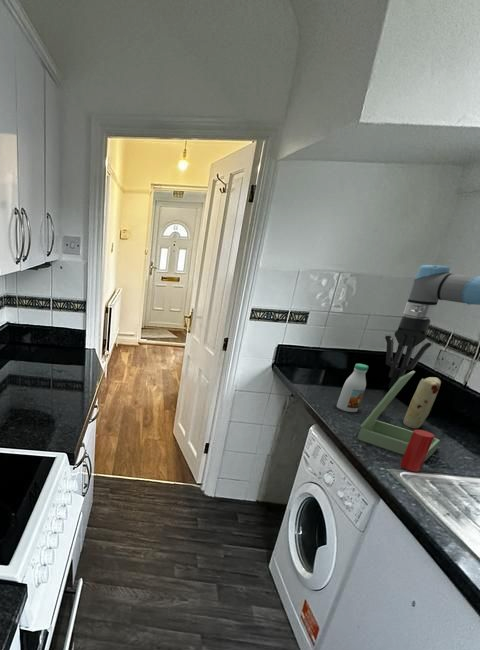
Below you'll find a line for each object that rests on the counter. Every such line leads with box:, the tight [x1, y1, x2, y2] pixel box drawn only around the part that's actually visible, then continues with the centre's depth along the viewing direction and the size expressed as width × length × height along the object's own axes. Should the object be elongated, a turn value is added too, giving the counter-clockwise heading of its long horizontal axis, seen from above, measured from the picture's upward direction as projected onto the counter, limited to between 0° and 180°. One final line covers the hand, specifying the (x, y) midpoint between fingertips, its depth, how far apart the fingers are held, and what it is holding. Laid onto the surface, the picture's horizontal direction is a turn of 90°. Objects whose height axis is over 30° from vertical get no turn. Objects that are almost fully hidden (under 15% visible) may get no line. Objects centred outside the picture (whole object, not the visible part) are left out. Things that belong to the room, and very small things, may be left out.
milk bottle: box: [336, 363, 369, 413], centre depth 168 cm, size 8×8×20 cm
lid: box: [359, 370, 416, 428], centre depth 142 cm, size 21×14×1 cm
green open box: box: [356, 419, 441, 463], centre depth 142 cm, size 20×14×5 cm
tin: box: [399, 429, 435, 473], centre depth 127 cm, size 5×5×12 cm
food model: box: [403, 376, 442, 430], centre depth 156 cm, size 10×7×20 cm
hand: (391, 387), depth 140 cm, fingers closed
